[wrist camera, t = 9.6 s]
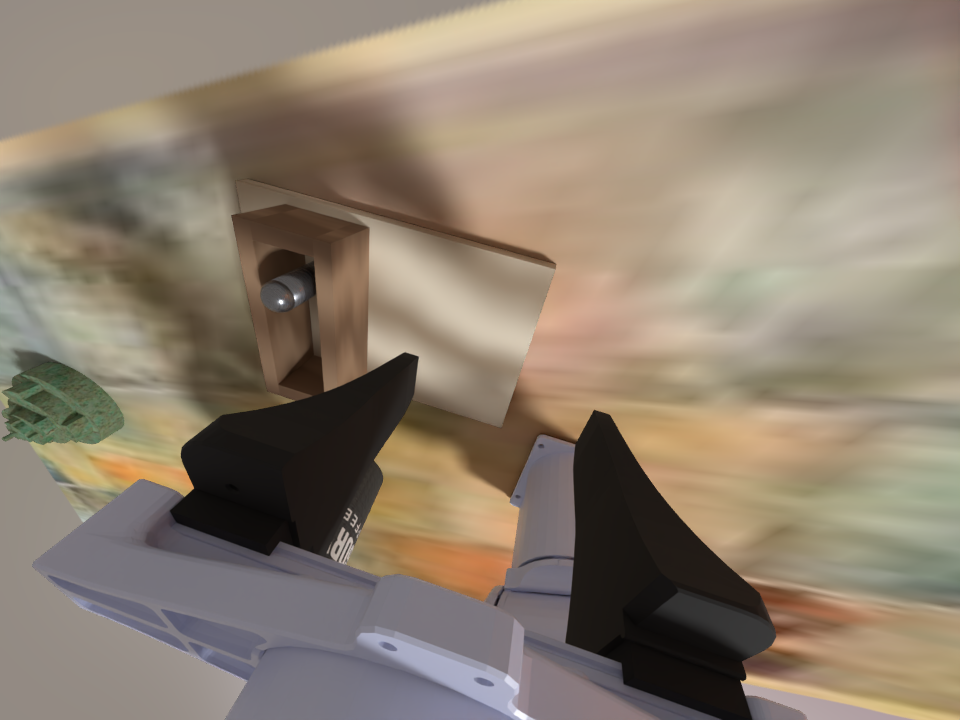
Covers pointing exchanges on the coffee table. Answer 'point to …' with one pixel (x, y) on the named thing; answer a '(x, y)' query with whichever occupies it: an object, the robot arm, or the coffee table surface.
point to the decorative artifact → (59, 407)
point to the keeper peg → (289, 289)
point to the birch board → (437, 305)
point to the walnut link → (340, 298)
